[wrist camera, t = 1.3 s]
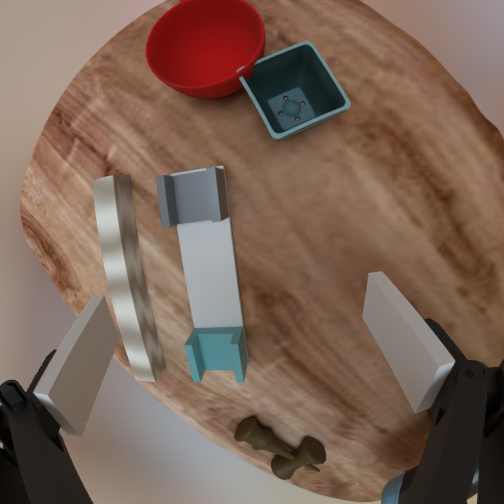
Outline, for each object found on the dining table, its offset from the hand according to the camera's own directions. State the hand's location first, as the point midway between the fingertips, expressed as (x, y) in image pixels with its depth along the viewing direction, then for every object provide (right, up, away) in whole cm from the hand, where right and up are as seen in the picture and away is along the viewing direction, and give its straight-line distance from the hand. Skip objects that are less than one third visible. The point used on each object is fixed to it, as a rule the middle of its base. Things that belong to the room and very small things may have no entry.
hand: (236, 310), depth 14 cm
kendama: (+7, -33, +32) cm, 46 cm away
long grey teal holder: (-5, 0, +26) cm, 26 cm away
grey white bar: (-17, -1, +27) cm, 32 cm away
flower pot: (+6, +21, +20) cm, 30 cm away
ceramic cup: (-4, +29, +19) cm, 35 cm away
